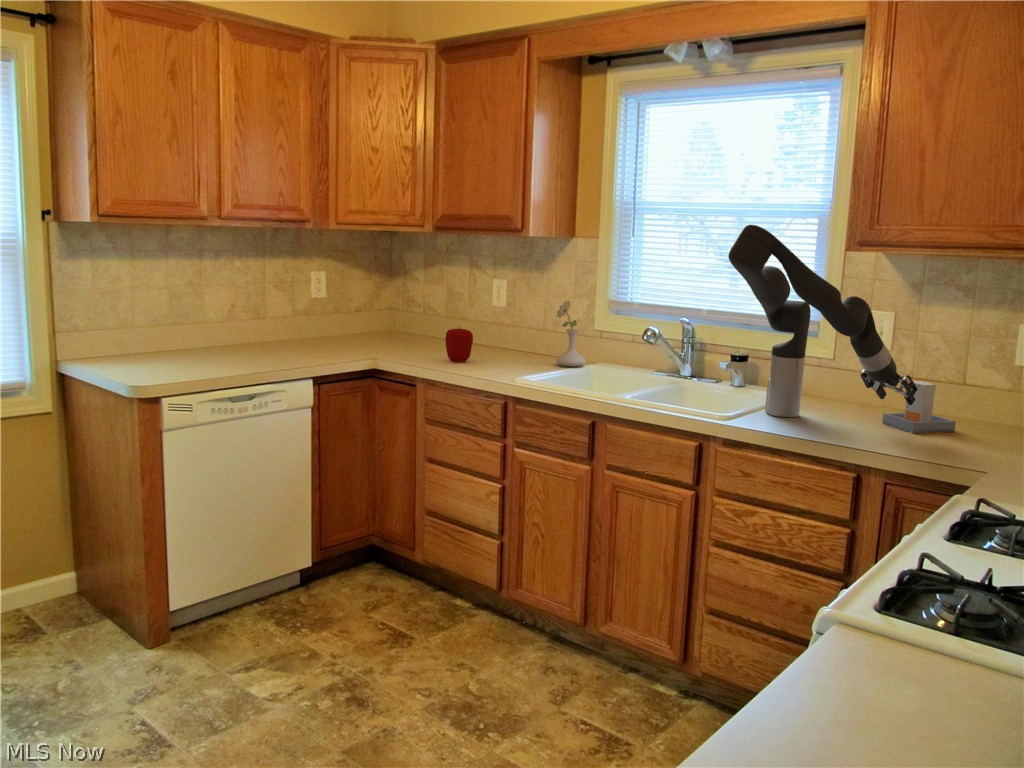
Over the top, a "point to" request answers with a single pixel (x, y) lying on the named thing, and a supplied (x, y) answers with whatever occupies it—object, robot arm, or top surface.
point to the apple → (458, 344)
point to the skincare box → (921, 403)
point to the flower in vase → (571, 354)
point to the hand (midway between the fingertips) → (897, 399)
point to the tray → (919, 423)
